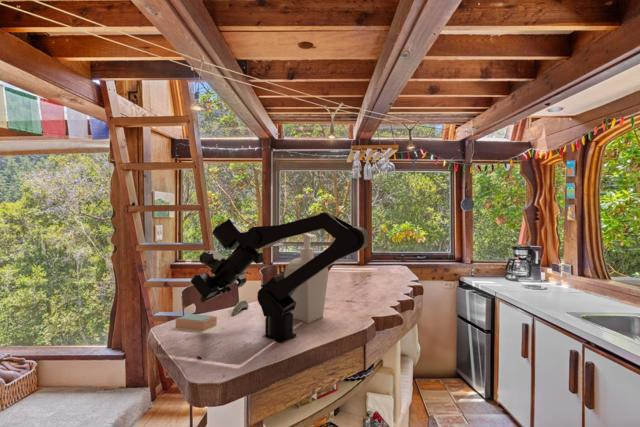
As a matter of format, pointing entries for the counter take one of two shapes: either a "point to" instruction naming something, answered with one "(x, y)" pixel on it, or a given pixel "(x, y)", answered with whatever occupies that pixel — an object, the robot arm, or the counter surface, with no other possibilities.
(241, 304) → the ceramic fragment
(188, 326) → the block
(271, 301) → the robot arm
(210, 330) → the mat
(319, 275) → the soap bottle
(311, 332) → the counter surface
